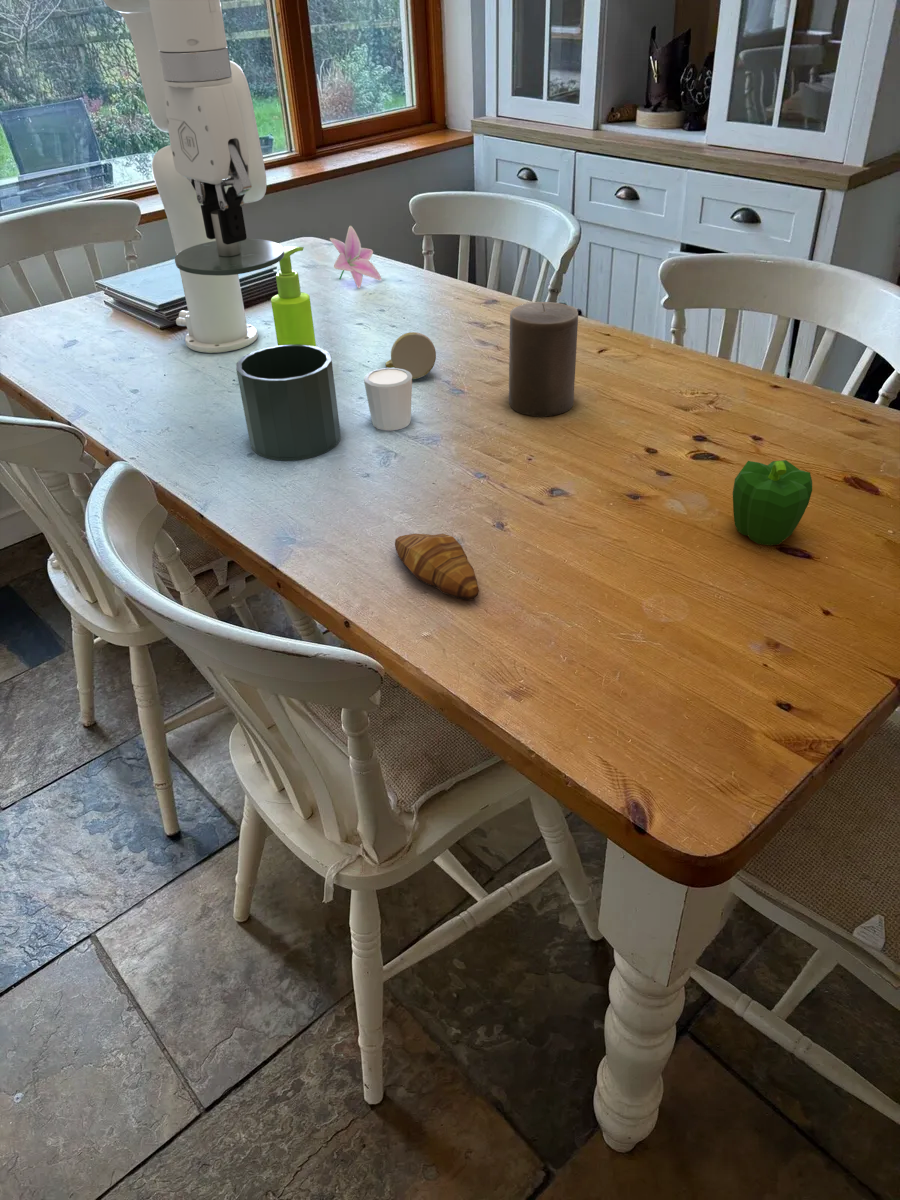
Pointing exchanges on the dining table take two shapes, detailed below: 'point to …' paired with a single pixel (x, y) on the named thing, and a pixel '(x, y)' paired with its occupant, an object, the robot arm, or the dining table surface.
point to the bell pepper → (770, 500)
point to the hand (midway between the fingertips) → (226, 237)
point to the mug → (413, 354)
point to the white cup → (389, 398)
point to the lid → (228, 255)
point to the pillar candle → (542, 358)
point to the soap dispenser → (292, 306)
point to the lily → (354, 258)
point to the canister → (289, 401)
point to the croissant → (439, 563)
